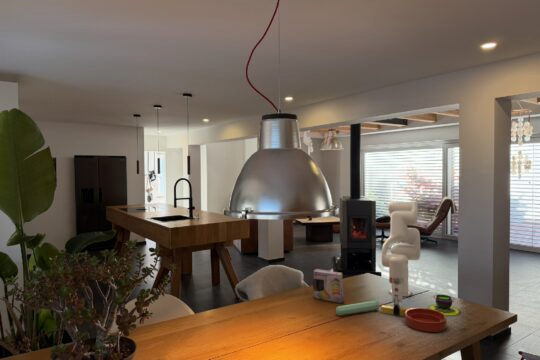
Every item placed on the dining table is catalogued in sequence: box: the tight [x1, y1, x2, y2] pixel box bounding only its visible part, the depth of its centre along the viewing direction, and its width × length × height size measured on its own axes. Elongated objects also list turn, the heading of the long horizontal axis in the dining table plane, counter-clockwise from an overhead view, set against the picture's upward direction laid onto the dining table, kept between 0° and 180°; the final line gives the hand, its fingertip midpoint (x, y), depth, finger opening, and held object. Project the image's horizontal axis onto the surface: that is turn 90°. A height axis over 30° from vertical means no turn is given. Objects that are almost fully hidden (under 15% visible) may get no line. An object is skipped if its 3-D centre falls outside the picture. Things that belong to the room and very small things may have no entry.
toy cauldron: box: [428, 291, 460, 316], centre depth 209 cm, size 15×15×11 cm
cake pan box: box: [312, 268, 345, 304], centre depth 229 cm, size 19×5×18 cm, turn 53°
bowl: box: [404, 307, 448, 333], centre depth 190 cm, size 20×20×5 cm
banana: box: [380, 304, 412, 317], centre depth 206 cm, size 5×16×3 cm, turn 70°
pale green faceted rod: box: [335, 299, 380, 317], centre depth 208 cm, size 6×6×25 cm
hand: (396, 312), depth 205 cm, fingers closed on banana, 3 cm apart
